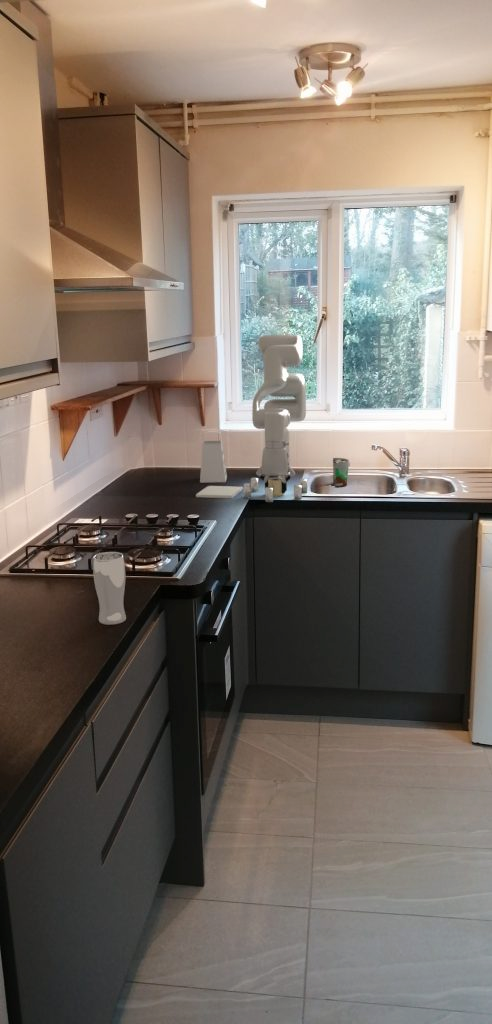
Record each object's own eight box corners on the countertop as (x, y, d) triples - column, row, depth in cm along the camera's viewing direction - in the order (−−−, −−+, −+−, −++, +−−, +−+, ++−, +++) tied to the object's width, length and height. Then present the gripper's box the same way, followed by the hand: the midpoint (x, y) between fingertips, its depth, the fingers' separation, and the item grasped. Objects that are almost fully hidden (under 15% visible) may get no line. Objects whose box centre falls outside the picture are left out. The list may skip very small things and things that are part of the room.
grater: (202, 477, 343) (200, 430, 338) (227, 477, 343) (225, 429, 338) (199, 482, 333) (197, 433, 328) (225, 482, 332) (223, 433, 328)
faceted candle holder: (271, 493, 310) (270, 477, 308) (283, 493, 308) (283, 477, 307) (267, 496, 304) (267, 480, 303) (280, 496, 303) (280, 480, 301)
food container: (351, 488, 314) (351, 462, 312) (335, 488, 314) (335, 463, 312) (348, 481, 326) (348, 457, 324) (332, 482, 326) (332, 457, 324)
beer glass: (91, 624, 181) (86, 559, 177) (104, 613, 187) (100, 550, 184) (120, 626, 179) (116, 561, 176) (132, 615, 186) (129, 552, 182)
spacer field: (255, 487, 321) (255, 474, 319) (310, 488, 315) (310, 476, 314) (239, 501, 297) (238, 487, 296) (298, 503, 292) (297, 489, 291)
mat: (208, 488, 321) (208, 485, 321) (242, 489, 317) (242, 486, 317) (195, 497, 306) (195, 494, 306) (231, 498, 302) (231, 495, 302)
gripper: (299, 443, 303) (300, 491, 307) (255, 443, 307) (256, 490, 312) (295, 446, 296) (296, 495, 300) (250, 446, 300) (251, 494, 305)
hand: (275, 492), depth 306 cm, fingers open, 5 cm apart
